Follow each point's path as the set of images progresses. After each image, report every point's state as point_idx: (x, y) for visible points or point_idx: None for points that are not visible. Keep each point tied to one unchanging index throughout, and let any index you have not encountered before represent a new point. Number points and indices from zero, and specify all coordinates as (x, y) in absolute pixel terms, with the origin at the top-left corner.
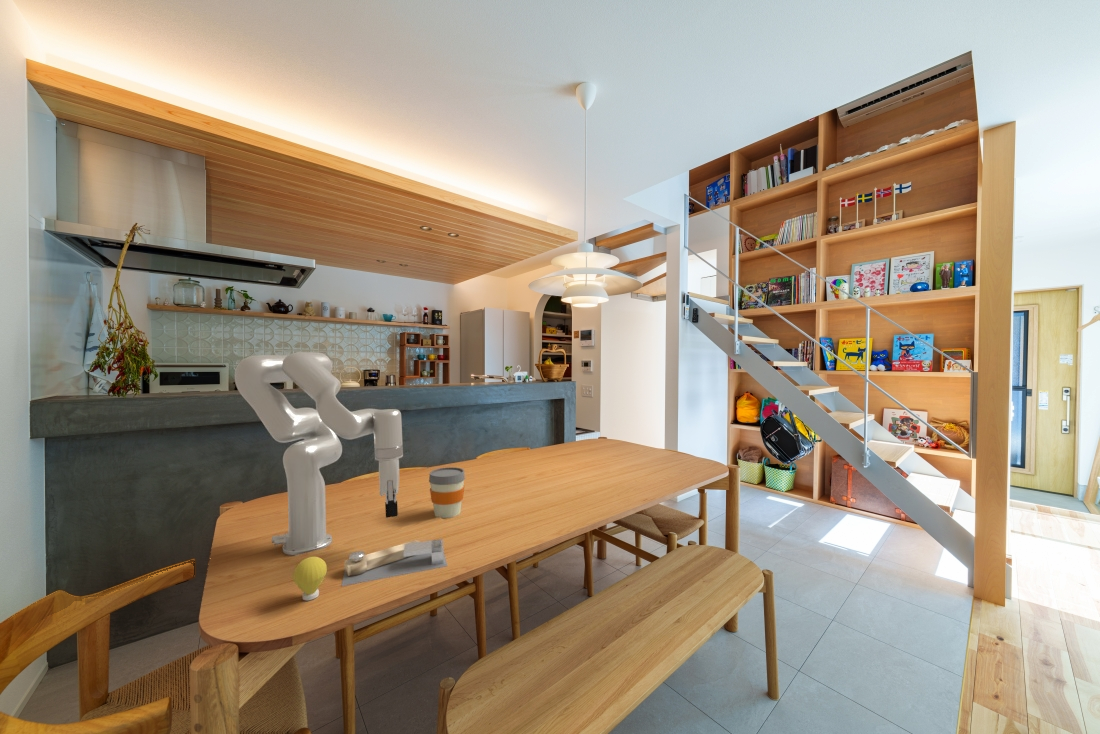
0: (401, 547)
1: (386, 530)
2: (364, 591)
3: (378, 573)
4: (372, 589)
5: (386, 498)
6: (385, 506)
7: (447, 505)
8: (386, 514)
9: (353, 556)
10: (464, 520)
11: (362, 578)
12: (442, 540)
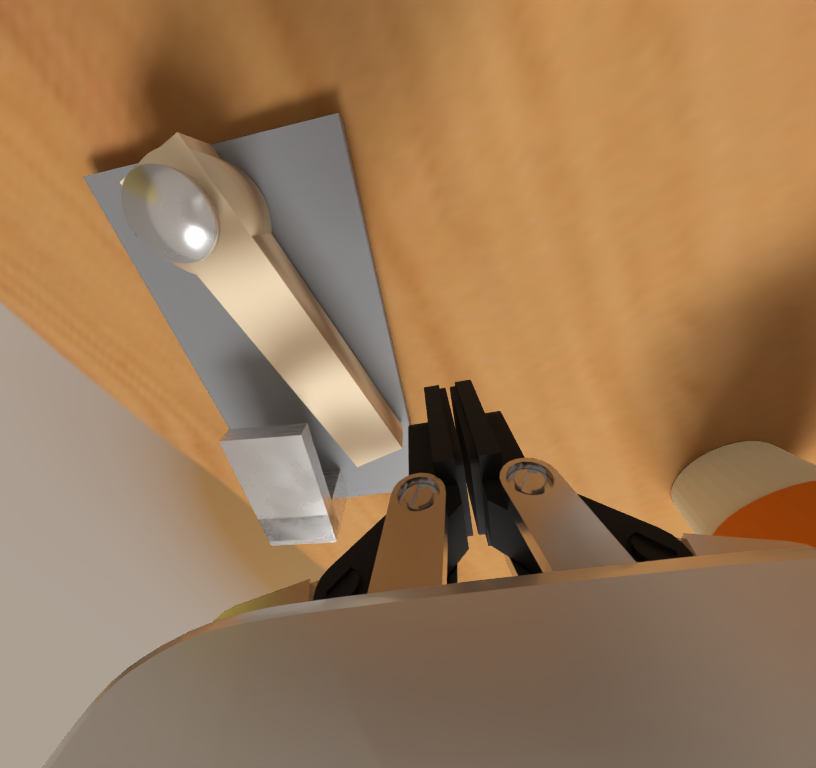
0: (334, 402)
1: (698, 251)
2: (120, 286)
3: (213, 321)
4: (139, 313)
5: (376, 561)
6: (432, 443)
7: (712, 529)
8: (427, 402)
9: (139, 201)
10: None
11: (166, 263)
12: (323, 541)
